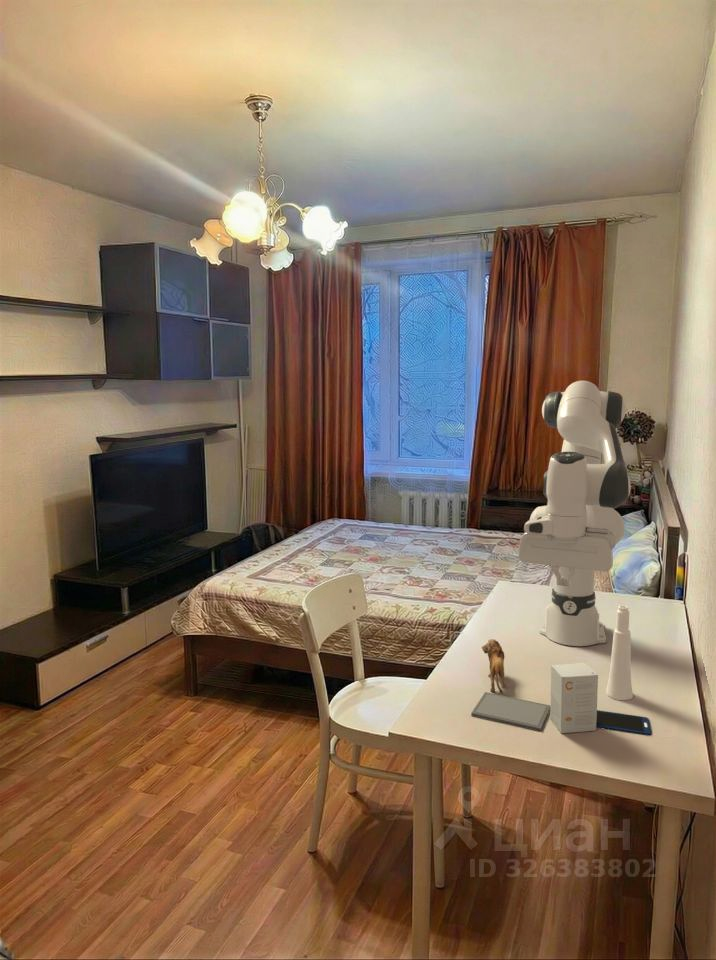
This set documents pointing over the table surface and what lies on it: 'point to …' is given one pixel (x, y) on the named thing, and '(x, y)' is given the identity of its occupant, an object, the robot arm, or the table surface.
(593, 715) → the small box
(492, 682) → the lion figurine
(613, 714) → the cell phone
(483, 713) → the grey tablet
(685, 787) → the table surface
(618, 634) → the cosmetic bottle
